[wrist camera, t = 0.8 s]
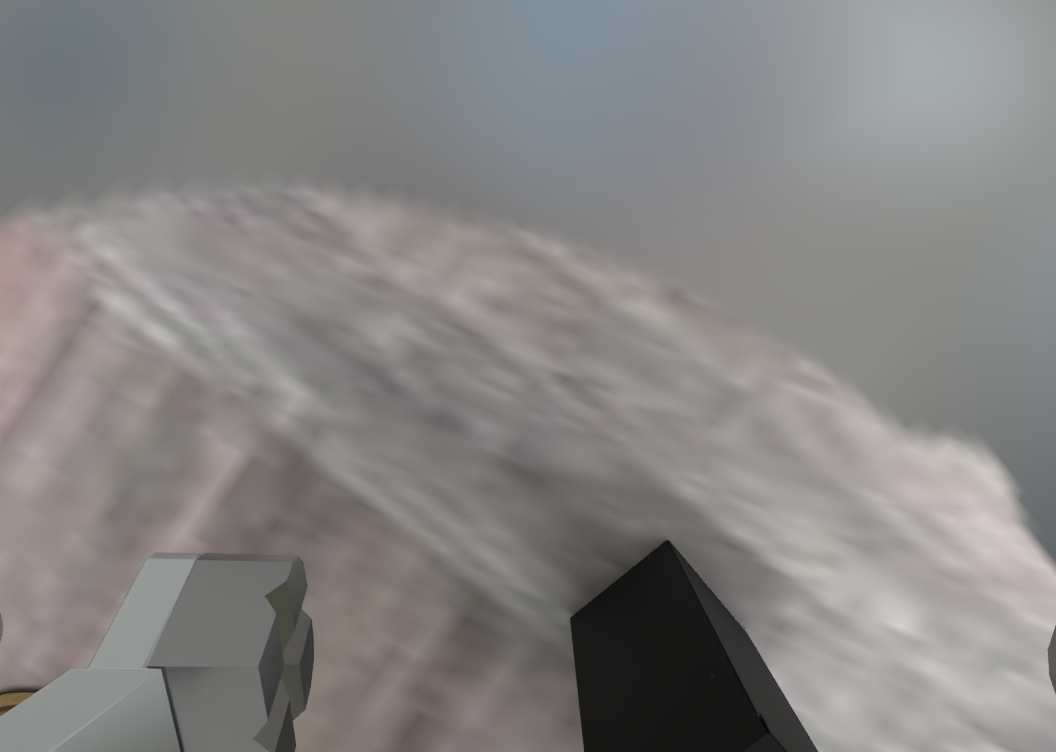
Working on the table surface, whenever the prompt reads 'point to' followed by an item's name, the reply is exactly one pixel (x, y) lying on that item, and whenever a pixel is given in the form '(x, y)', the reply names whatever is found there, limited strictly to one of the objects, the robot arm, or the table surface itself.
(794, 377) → the table surface
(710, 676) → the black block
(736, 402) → the table surface
